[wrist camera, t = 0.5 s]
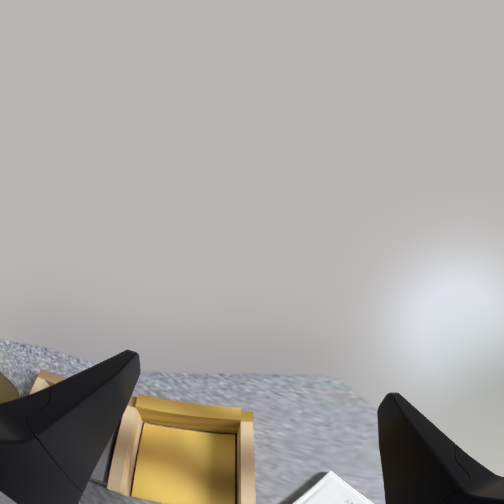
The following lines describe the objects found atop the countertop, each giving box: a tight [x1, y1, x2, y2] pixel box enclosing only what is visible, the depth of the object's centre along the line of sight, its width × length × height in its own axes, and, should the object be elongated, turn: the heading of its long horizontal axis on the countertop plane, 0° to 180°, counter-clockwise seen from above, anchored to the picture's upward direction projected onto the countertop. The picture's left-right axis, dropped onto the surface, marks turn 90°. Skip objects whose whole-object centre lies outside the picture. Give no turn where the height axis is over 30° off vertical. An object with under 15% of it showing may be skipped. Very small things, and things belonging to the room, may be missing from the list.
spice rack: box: [29, 369, 256, 504], centre depth 16 cm, size 9×20×4 cm, turn 91°
